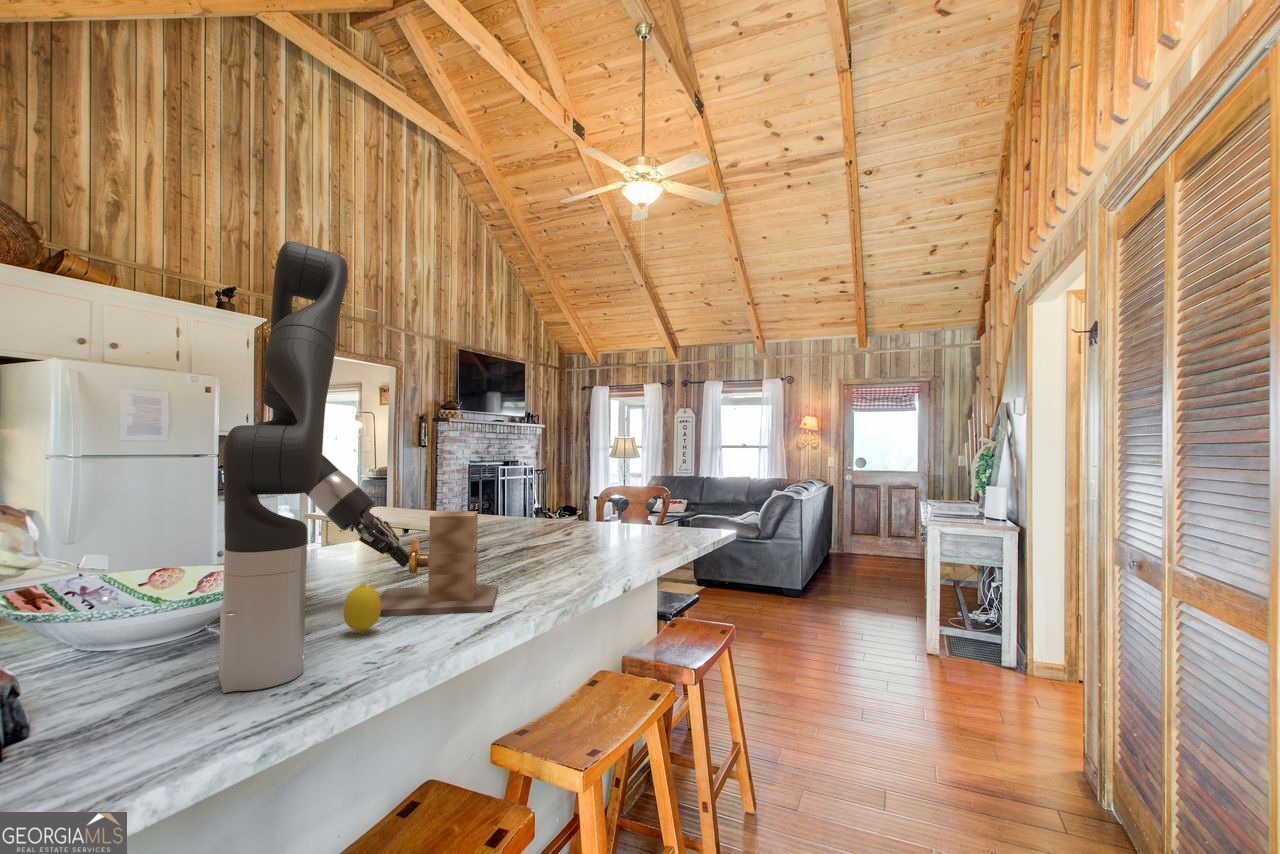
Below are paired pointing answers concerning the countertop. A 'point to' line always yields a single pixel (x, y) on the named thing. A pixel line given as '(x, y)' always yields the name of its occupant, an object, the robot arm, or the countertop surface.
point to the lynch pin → (424, 558)
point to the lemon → (362, 608)
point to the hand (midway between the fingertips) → (408, 563)
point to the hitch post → (445, 573)
